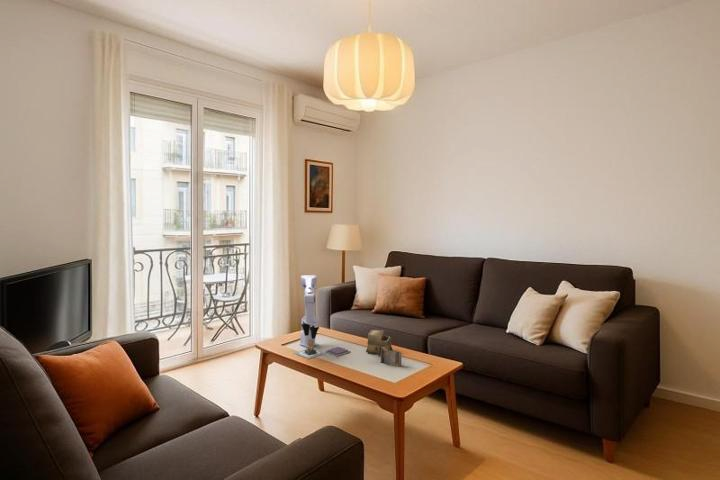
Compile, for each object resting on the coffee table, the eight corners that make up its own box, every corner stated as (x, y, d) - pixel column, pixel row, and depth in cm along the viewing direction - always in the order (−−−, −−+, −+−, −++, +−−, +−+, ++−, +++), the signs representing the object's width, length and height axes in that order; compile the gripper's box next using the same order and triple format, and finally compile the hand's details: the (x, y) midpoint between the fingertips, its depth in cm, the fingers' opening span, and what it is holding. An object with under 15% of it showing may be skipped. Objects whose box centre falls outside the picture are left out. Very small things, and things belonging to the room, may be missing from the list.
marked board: (293, 353, 248) (293, 352, 248) (311, 348, 258) (311, 347, 258) (308, 359, 239) (308, 358, 238) (326, 353, 248) (326, 353, 248)
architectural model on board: (380, 363, 232) (380, 346, 232) (382, 362, 235) (383, 345, 234) (398, 367, 227) (399, 349, 226) (401, 365, 229) (401, 348, 229)
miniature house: (364, 354, 246) (364, 335, 245) (369, 347, 260) (369, 329, 259) (389, 356, 242) (389, 337, 242) (393, 349, 256) (393, 330, 255)
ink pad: (324, 352, 250) (324, 350, 250) (338, 348, 258) (338, 345, 258) (337, 356, 243) (337, 354, 242) (350, 352, 250) (350, 350, 250)
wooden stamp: (304, 352, 249) (304, 340, 248) (312, 351, 252) (312, 338, 251) (308, 354, 245) (308, 342, 244) (316, 353, 248) (316, 340, 247)
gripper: (322, 315, 244) (322, 338, 244) (309, 310, 255) (309, 333, 256) (312, 317, 239) (312, 340, 240) (299, 312, 251) (299, 335, 251)
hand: (310, 336), depth 248 cm, fingers open, 7 cm apart
